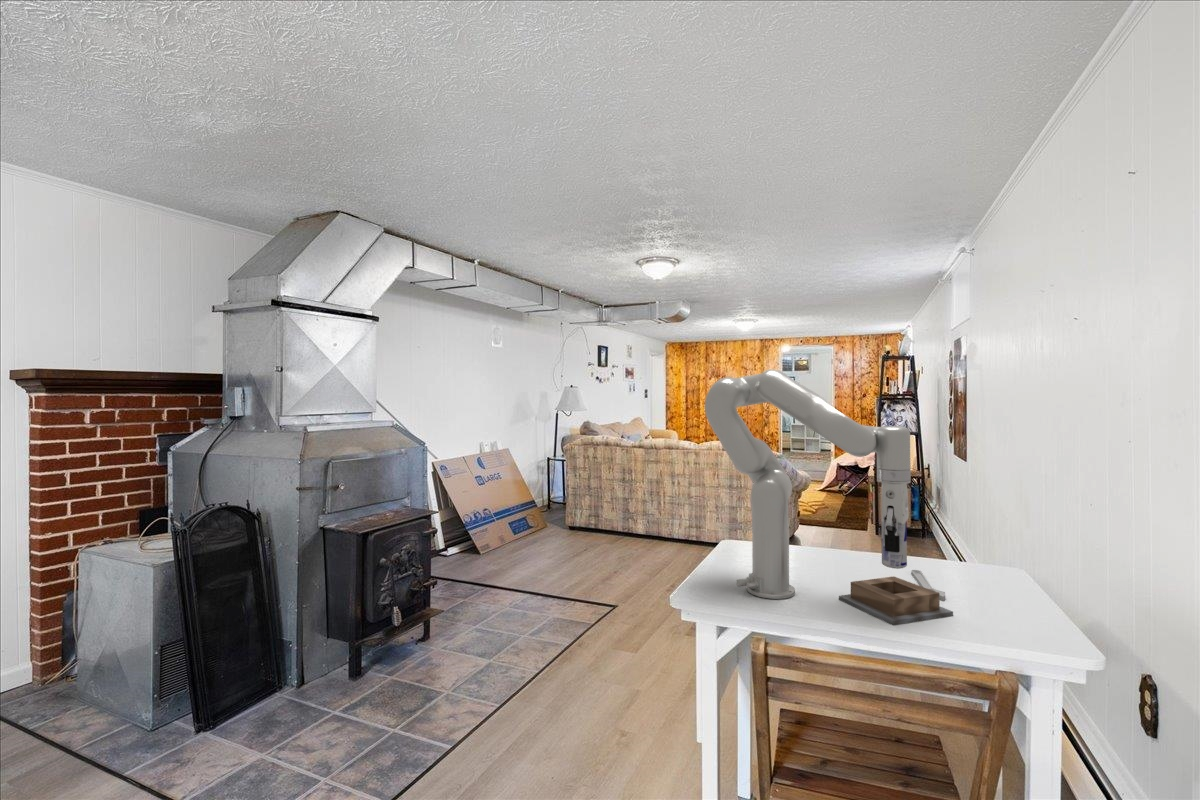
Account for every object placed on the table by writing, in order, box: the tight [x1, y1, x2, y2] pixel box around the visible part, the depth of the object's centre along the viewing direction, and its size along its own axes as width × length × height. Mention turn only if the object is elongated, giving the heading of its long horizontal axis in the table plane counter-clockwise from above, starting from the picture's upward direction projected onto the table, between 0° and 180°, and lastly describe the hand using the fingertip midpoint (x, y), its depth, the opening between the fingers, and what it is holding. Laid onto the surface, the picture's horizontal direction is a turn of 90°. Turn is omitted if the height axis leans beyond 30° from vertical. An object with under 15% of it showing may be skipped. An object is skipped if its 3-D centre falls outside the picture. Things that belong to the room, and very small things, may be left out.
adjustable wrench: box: [910, 569, 946, 602], centre depth 163 cm, size 25×6×2 cm, turn 157°
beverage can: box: [880, 512, 908, 569], centre depth 147 cm, size 6×6×15 cm
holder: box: [838, 576, 954, 626], centre depth 147 cm, size 18×18×5 cm
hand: (894, 548), depth 147 cm, fingers closed on beverage can, 5 cm apart
